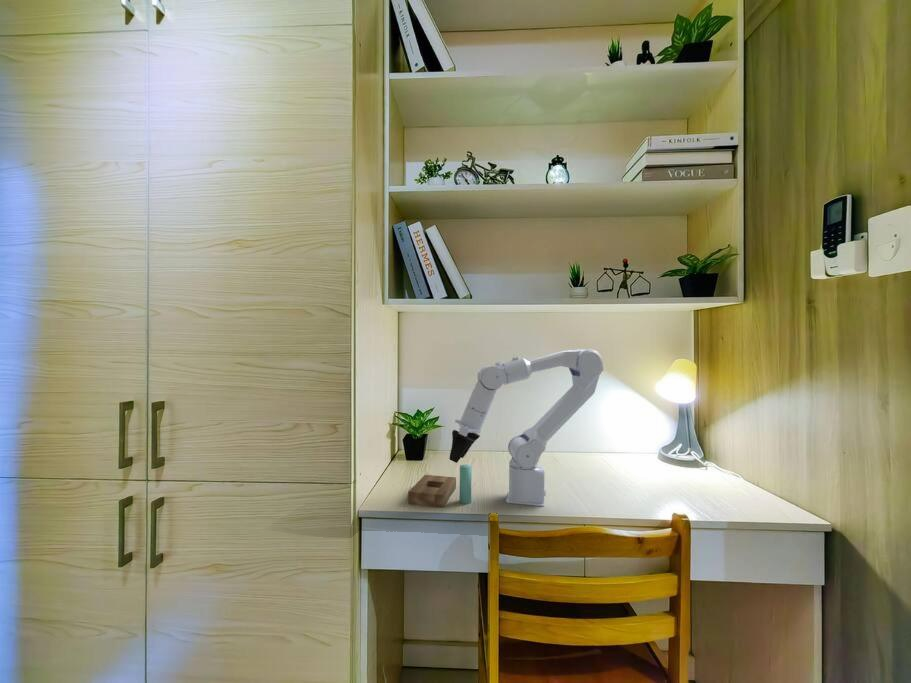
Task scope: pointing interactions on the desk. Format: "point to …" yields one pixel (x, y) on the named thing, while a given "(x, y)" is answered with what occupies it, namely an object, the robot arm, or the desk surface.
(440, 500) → the hole block
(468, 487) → the peg
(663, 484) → the desk surface
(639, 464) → the desk surface
